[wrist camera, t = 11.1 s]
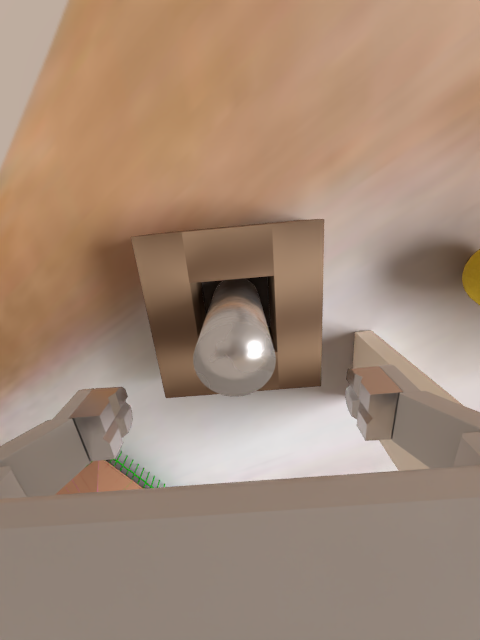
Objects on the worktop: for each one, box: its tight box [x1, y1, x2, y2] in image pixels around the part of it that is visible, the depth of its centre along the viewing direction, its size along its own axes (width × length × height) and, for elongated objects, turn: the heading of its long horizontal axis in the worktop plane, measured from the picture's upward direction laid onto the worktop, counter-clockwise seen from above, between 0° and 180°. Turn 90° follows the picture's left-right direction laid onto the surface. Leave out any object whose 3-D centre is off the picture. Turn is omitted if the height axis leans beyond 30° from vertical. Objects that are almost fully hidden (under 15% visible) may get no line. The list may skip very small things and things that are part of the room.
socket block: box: [131, 219, 324, 398], centre depth 21 cm, size 12×12×5 cm
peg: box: [193, 278, 276, 396], centre depth 18 cm, size 4×4×11 cm
